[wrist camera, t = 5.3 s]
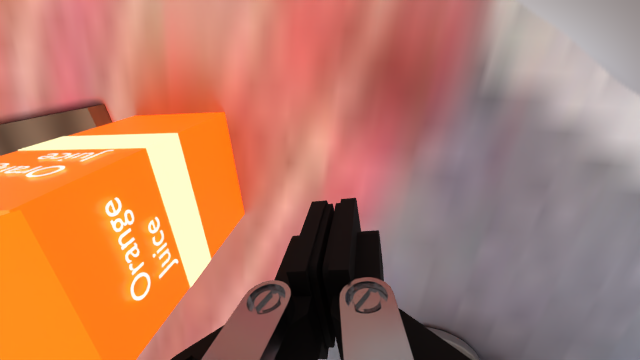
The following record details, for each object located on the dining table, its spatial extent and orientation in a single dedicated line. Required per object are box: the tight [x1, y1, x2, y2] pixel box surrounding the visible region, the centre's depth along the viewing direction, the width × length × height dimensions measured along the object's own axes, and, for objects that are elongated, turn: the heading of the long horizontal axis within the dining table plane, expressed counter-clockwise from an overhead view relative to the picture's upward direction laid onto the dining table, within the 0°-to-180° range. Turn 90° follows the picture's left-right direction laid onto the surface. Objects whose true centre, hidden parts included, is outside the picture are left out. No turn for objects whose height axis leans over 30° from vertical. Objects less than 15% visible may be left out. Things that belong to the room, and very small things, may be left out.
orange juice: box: [0, 112, 245, 360], centre depth 15 cm, size 8×9×20 cm
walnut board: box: [0, 104, 112, 156], centre depth 28 cm, size 20×16×2 cm
